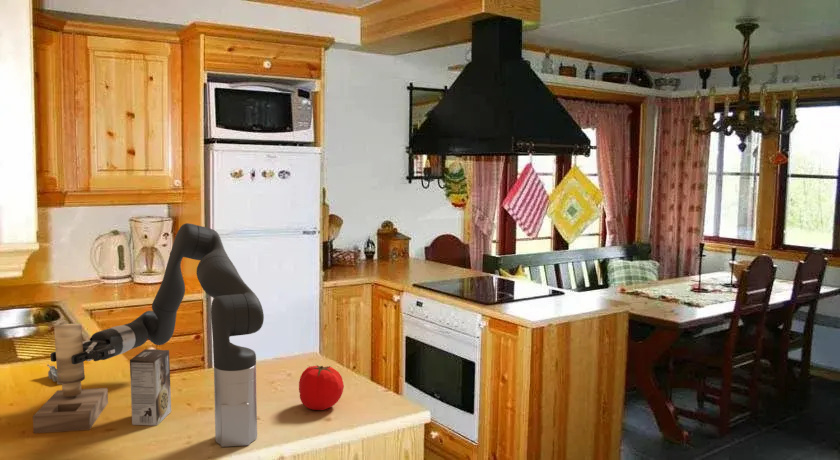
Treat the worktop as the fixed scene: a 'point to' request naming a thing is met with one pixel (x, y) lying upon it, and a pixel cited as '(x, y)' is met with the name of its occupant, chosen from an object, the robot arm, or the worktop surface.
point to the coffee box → (150, 387)
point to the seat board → (70, 411)
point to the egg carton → (52, 373)
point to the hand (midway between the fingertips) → (62, 359)
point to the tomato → (320, 387)
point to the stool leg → (69, 358)
